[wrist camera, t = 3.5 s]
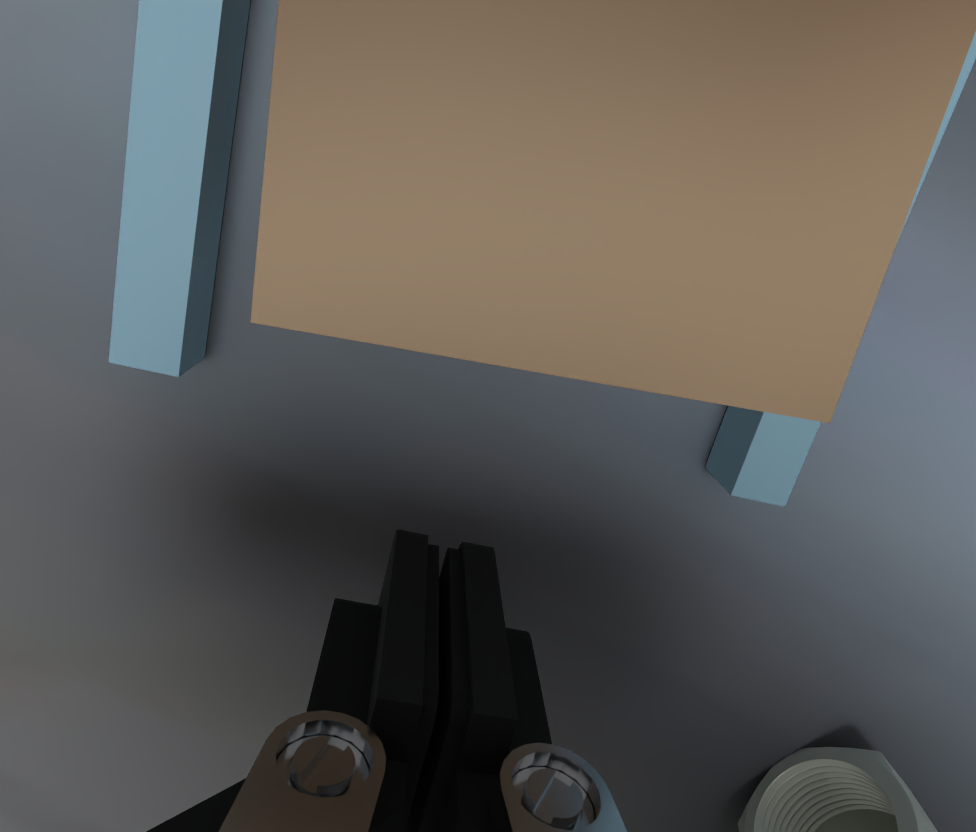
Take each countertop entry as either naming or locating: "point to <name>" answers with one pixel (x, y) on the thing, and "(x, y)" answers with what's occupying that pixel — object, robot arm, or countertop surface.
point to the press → (199, 210)
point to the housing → (603, 182)
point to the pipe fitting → (833, 795)
